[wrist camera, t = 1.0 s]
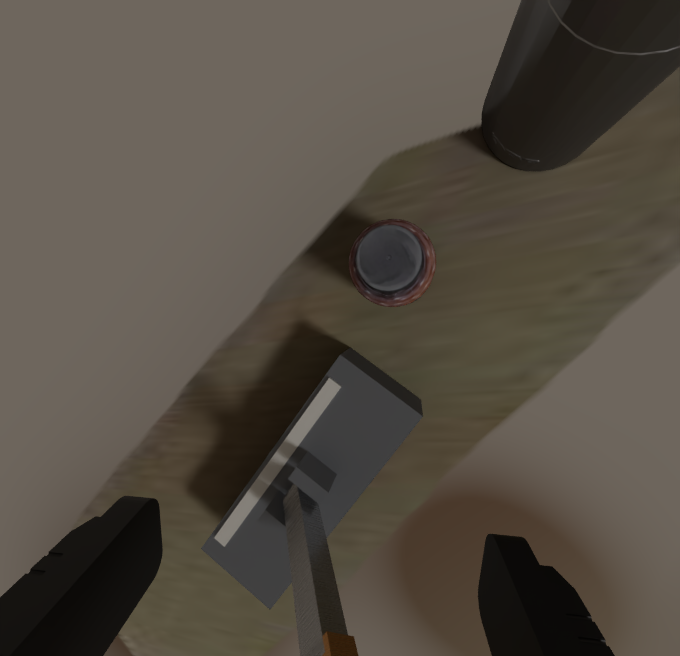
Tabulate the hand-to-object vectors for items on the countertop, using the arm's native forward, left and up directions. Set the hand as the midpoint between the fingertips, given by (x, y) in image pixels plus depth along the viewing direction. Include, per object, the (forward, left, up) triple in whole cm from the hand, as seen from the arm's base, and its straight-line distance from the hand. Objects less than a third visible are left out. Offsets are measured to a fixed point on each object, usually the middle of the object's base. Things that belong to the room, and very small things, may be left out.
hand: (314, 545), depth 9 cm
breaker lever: (+11, 0, -19) cm, 22 cm away
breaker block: (+11, 0, -25) cm, 27 cm away
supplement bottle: (-8, -4, -25) cm, 27 cm away
